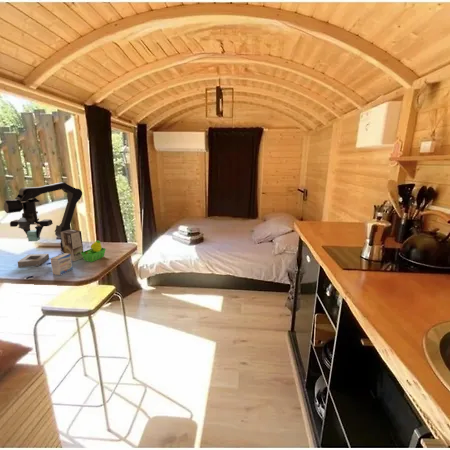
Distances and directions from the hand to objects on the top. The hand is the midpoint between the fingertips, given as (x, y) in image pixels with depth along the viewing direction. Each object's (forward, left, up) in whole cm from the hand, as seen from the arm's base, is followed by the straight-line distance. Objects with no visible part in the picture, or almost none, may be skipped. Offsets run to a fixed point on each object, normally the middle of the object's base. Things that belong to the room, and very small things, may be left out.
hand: (34, 237), depth 142 cm
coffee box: (-21, +4, -12) cm, 25 cm away
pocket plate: (-2, +7, -12) cm, 14 cm away
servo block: (0, 0, -2) cm, 2 cm away
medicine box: (-22, +23, -12) cm, 34 cm away
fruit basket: (-33, +7, -12) cm, 36 cm away
